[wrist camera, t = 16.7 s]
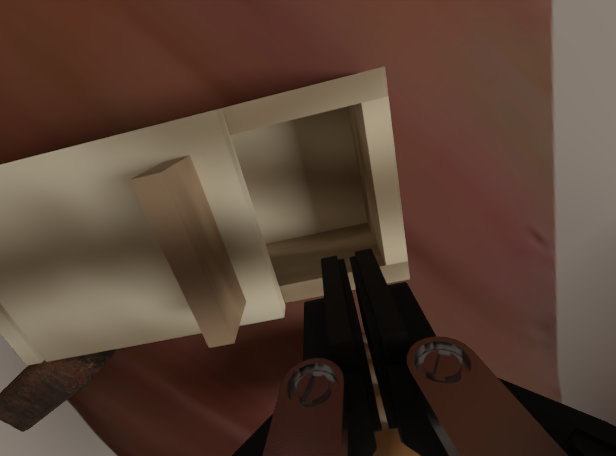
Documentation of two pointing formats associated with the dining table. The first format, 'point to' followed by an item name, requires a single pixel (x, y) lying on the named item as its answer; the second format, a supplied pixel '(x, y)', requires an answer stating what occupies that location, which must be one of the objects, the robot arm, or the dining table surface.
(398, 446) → the cat ice cream
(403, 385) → the robot arm
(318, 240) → the toolbox
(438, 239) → the dining table surface
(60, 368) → the brick
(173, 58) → the dining table surface
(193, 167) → the lid
